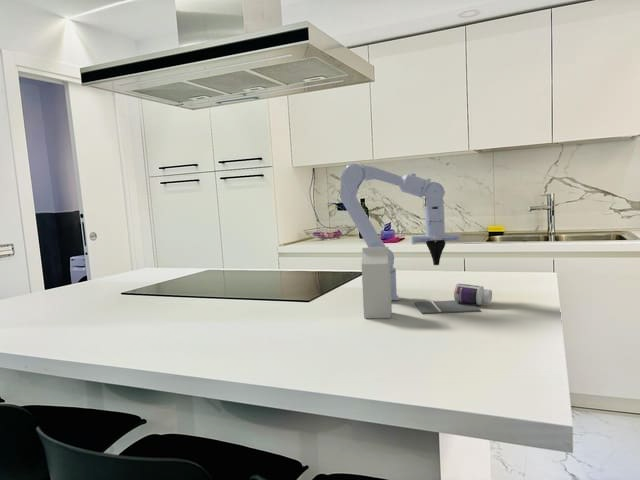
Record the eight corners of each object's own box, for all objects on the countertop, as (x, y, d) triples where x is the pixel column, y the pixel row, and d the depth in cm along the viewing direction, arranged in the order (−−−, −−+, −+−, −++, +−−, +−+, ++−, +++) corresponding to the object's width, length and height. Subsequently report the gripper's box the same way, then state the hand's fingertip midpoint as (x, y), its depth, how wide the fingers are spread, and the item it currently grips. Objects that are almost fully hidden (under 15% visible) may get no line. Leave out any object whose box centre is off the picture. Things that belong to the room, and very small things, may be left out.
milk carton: (390, 318, 133) (387, 248, 131) (363, 318, 134) (360, 249, 133) (391, 312, 140) (389, 245, 138) (366, 312, 141) (363, 246, 140)
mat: (422, 313, 136) (422, 312, 136) (414, 303, 149) (414, 301, 149) (480, 311, 136) (480, 309, 136) (468, 301, 148) (468, 299, 148)
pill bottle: (454, 305, 145) (488, 310, 140) (452, 290, 143) (486, 295, 137) (460, 293, 149) (493, 298, 143) (458, 279, 146) (492, 283, 141)
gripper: (413, 223, 149) (414, 267, 151) (461, 220, 149) (462, 265, 150) (409, 221, 156) (411, 264, 158) (456, 219, 156) (457, 262, 157)
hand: (436, 264), depth 154 cm, fingers closed
